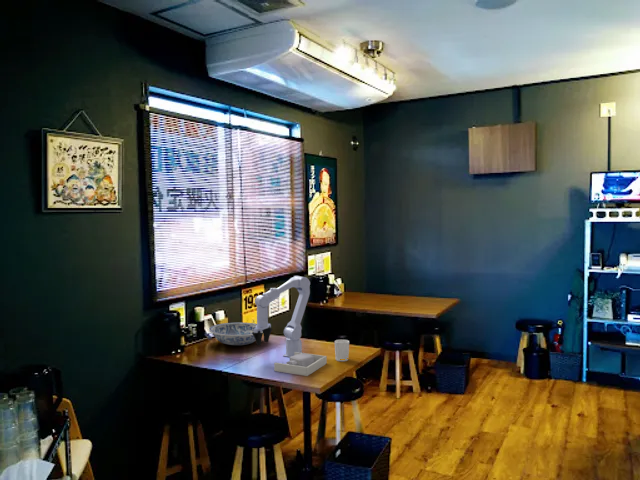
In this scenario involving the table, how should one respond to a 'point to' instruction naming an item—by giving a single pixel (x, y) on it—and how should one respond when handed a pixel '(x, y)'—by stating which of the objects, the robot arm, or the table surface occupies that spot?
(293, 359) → the charger
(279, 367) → the box
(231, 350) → the table surface
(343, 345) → the white cup
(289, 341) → the robot arm
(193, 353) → the table surface
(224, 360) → the table surface
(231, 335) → the ceramic bowl
